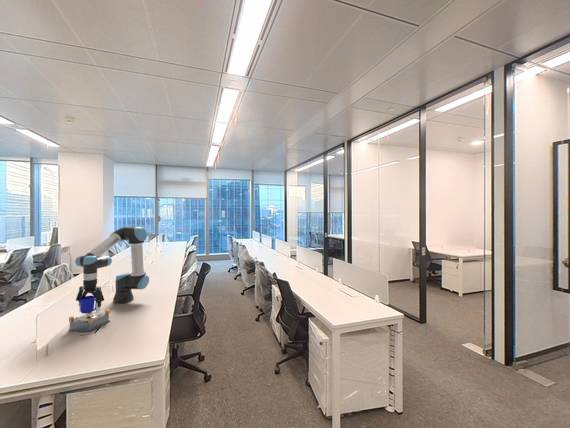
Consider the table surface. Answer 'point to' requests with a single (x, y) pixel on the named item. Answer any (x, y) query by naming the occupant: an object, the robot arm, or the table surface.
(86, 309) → the mug
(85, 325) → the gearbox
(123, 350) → the table surface
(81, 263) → the robot arm
